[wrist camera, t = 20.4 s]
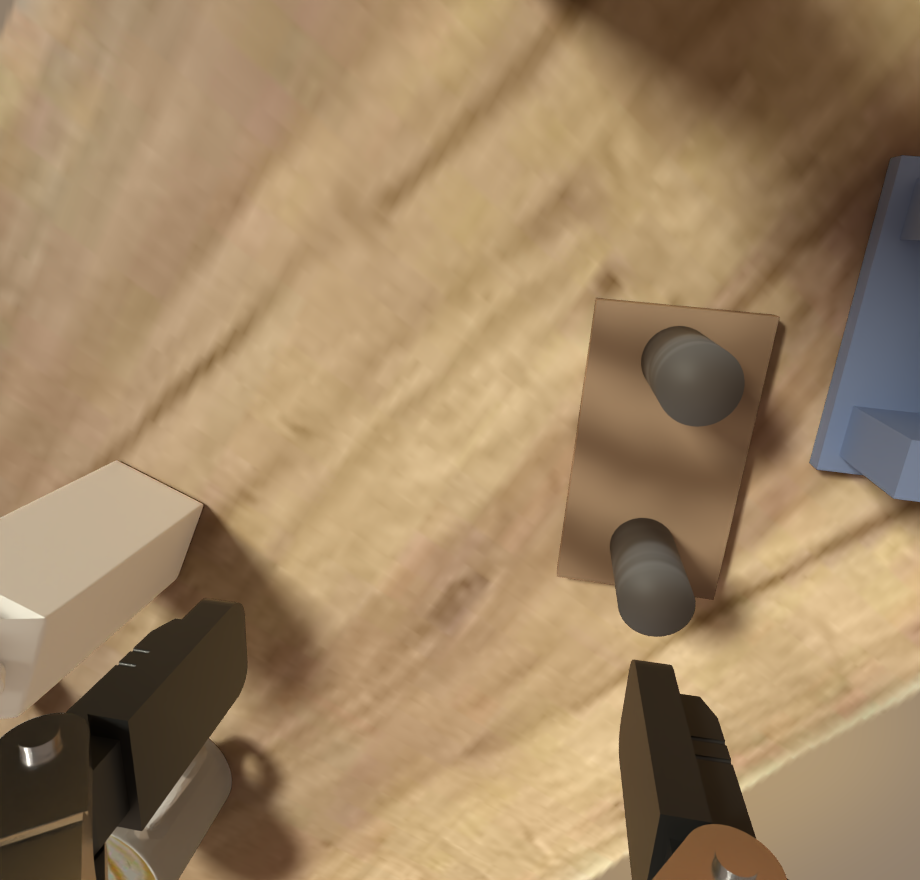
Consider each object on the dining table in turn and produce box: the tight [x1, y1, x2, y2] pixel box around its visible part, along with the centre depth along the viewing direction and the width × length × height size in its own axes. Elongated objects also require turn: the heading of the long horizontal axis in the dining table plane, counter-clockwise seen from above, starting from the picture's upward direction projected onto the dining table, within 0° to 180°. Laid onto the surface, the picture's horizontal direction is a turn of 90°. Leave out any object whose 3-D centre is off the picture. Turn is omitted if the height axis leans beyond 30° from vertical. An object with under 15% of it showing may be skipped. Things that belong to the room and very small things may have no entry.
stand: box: [557, 298, 779, 637], centre depth 36 cm, size 18×10×8 cm, turn 175°
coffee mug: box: [106, 738, 232, 880], centre depth 49 cm, size 13×10×10 cm
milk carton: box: [0, 460, 203, 719], centre depth 38 cm, size 7×7×19 cm
